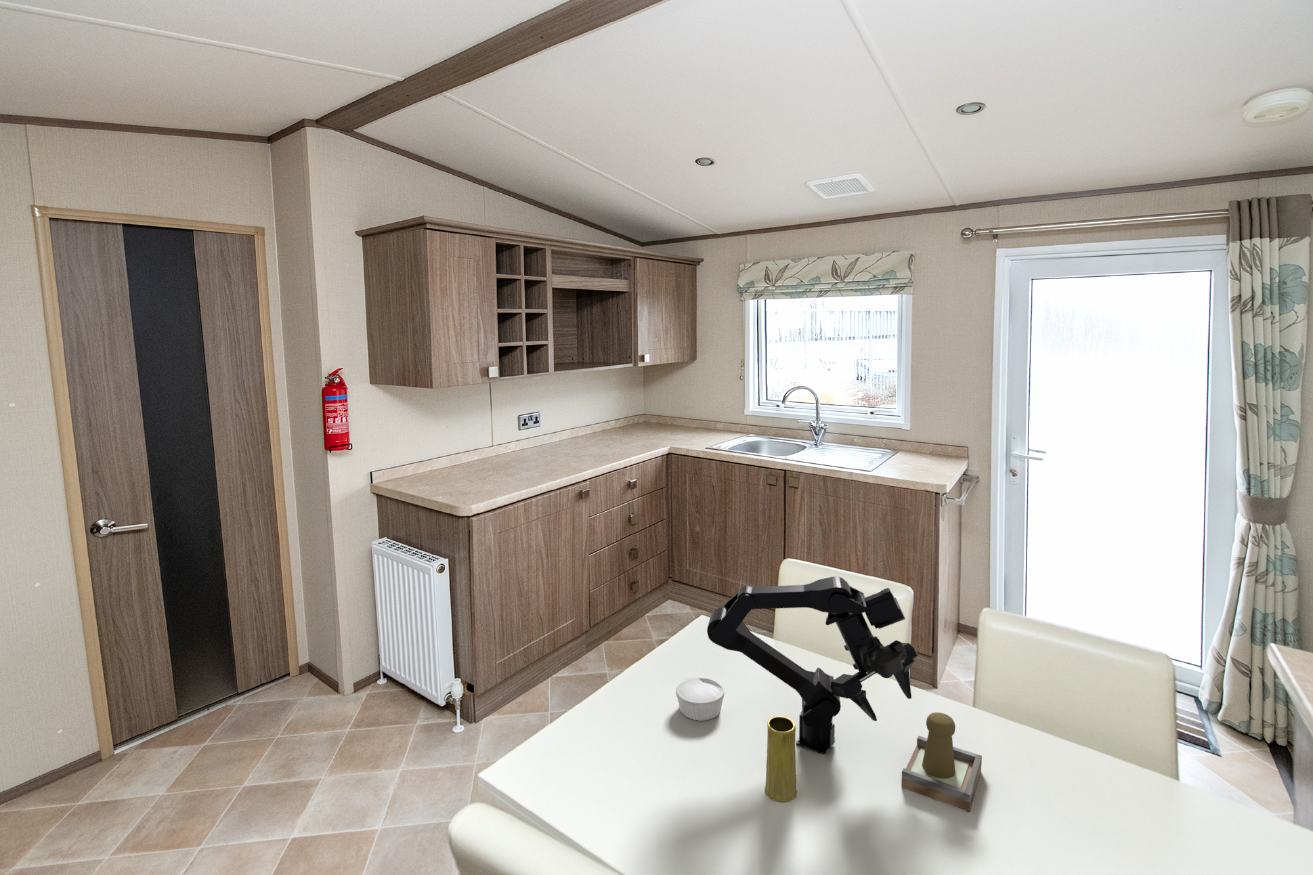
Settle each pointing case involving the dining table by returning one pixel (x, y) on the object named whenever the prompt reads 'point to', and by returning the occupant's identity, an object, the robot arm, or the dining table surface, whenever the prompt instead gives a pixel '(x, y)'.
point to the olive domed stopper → (939, 746)
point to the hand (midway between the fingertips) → (892, 709)
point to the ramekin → (700, 698)
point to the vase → (781, 759)
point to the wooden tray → (944, 790)
